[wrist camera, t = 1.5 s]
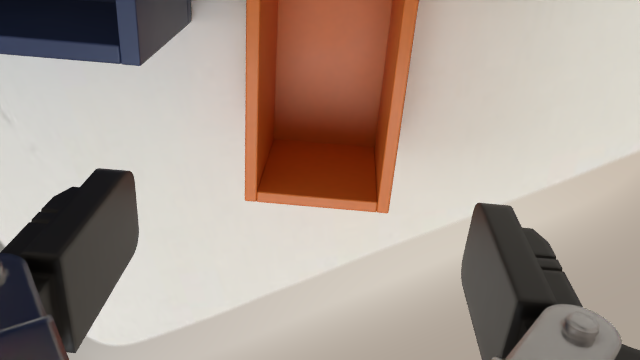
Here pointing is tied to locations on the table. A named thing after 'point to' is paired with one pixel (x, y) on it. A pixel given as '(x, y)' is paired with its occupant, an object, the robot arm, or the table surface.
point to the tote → (91, 28)
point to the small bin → (325, 100)
